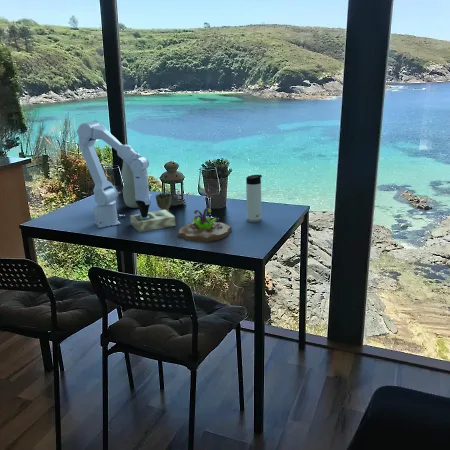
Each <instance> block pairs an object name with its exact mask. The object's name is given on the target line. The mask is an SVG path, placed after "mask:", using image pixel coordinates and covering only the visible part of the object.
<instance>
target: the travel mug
mask: <svg viewBox="0 0 450 450" xmlns="http://www.w3.org/2000/svg"><path fill="white" fill-rule="evenodd" d="M262 177H263V175H262V174H251V175H248V176H247V177H246V178H245V179H246V180H245V181H246V182H245V184H246V186H245V189H246V191H245V192H246V193H245V194H246V221H247V222H249V223H259V222H261V221H262Z"/></svg>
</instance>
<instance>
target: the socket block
mask: <svg viewBox="0 0 450 450" xmlns="http://www.w3.org/2000/svg"><path fill="white" fill-rule="evenodd" d="M140 216H141V213H137V214H132V215H131V214H130V215H129V217H130V224H131V225H132V227H134V229H135V230H137V232H139V231H143V232H147V231H146V230H148V231H152V230H153V229H154V230H158V229H163V228H170V227H174V226H176V216H175V215H174V214H173V213H171V212H170V211H169V210H168V211H167V210H161V209H160V210H155V211H148V216H149V218H146V219H140Z"/></svg>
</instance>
